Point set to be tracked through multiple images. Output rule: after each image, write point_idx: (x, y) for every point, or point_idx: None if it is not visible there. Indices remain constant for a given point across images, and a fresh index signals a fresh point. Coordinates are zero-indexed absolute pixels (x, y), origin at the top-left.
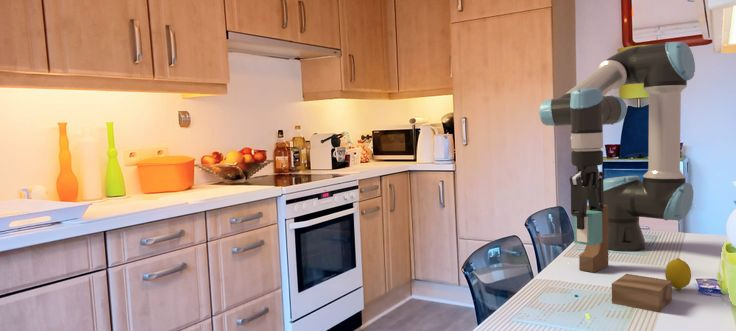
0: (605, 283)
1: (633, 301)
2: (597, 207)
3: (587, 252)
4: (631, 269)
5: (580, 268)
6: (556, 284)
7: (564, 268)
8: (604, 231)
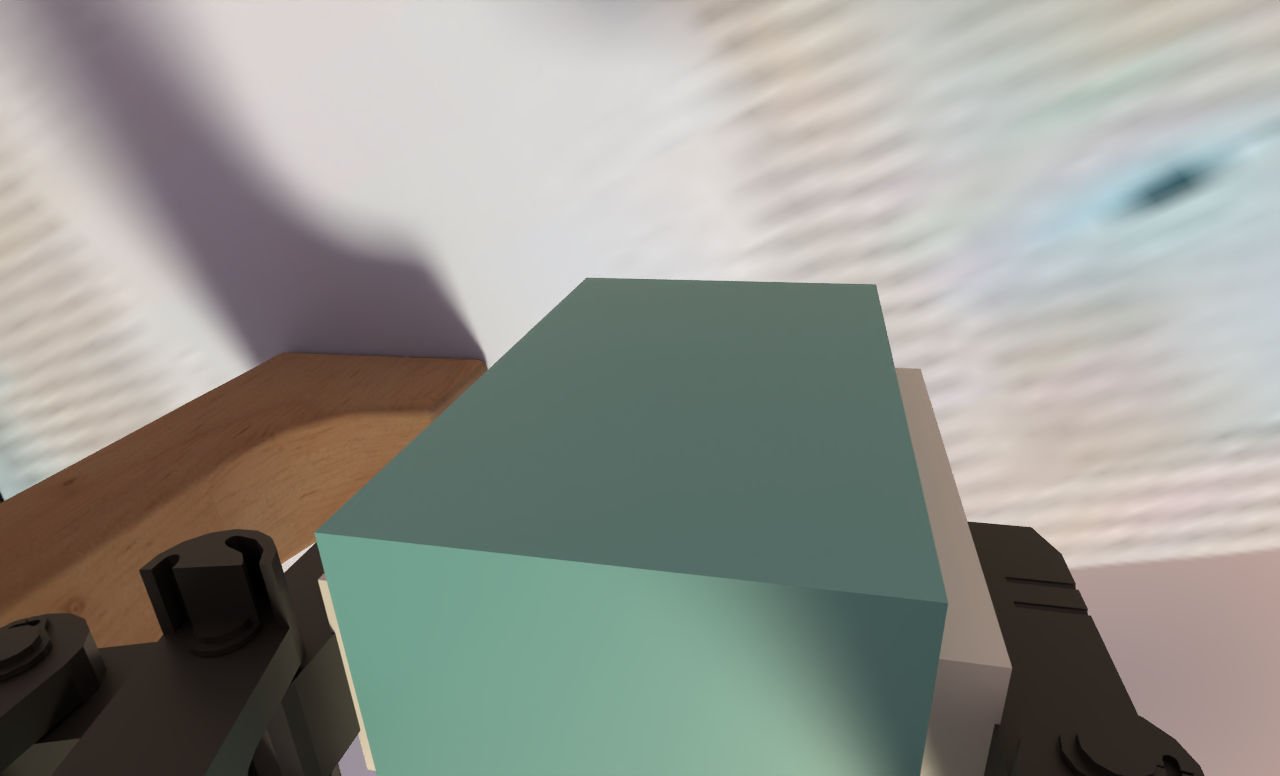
0: (665, 172)
1: None
2: (239, 727)
3: None
4: (215, 201)
5: None
6: None
7: None
8: (96, 495)
